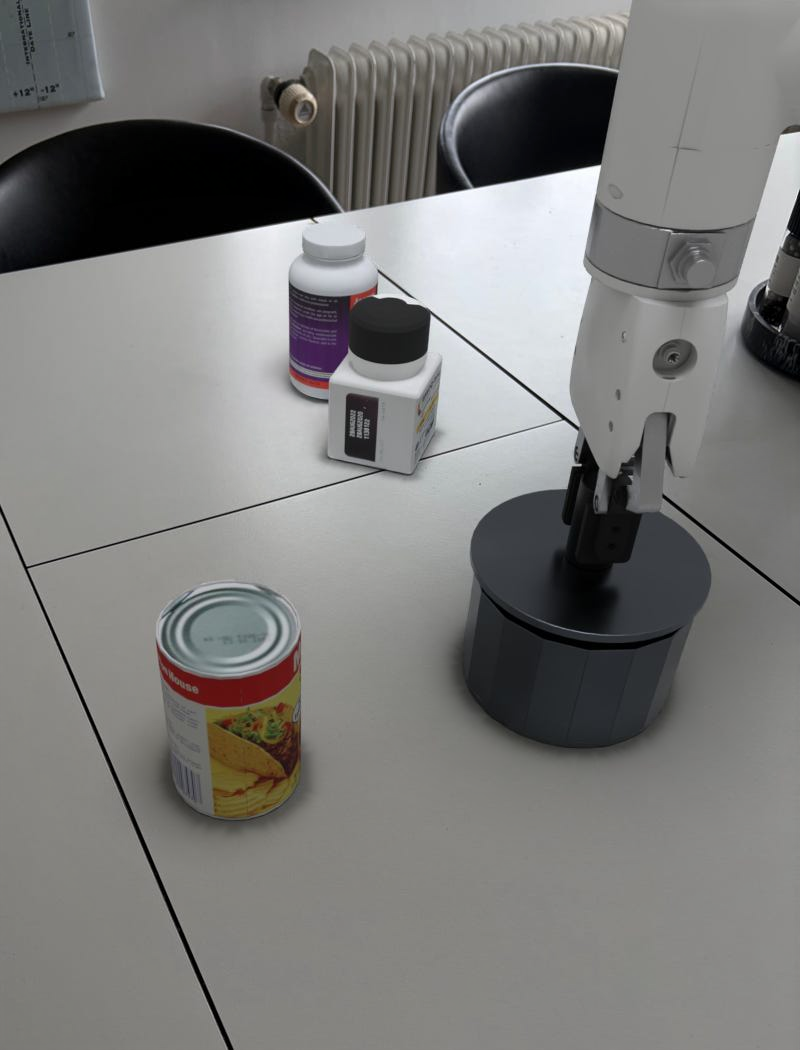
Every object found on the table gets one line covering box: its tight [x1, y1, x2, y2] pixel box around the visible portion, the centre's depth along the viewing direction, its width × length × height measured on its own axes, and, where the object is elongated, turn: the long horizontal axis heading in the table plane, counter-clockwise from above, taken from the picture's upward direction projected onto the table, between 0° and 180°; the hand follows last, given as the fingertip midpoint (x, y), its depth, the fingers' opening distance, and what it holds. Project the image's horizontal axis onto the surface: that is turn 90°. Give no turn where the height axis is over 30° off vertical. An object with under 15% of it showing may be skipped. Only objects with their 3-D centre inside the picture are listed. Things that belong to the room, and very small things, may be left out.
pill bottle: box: [287, 221, 379, 400], centre depth 95 cm, size 8×8×14 cm
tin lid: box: [469, 467, 712, 643], centre depth 63 cm, size 15×15×7 cm
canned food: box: [154, 578, 302, 821], centre depth 60 cm, size 8×8×12 cm
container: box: [327, 293, 443, 475], centre depth 87 cm, size 8×8×13 cm
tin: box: [461, 574, 695, 749], centre depth 68 cm, size 14×14×8 cm
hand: (594, 538), depth 63 cm, fingers closed on tin lid, 3 cm apart
